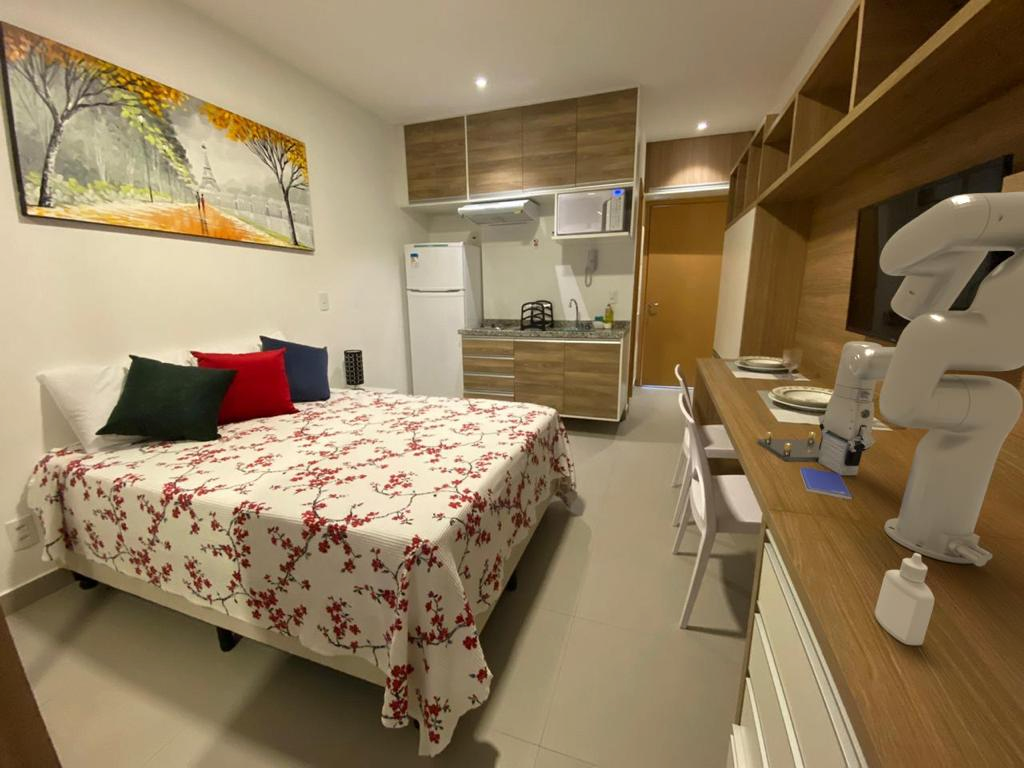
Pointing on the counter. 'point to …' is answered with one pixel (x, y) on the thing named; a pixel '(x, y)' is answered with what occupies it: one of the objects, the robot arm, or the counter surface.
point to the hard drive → (824, 483)
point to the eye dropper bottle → (906, 602)
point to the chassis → (792, 447)
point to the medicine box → (836, 454)
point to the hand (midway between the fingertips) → (837, 457)
